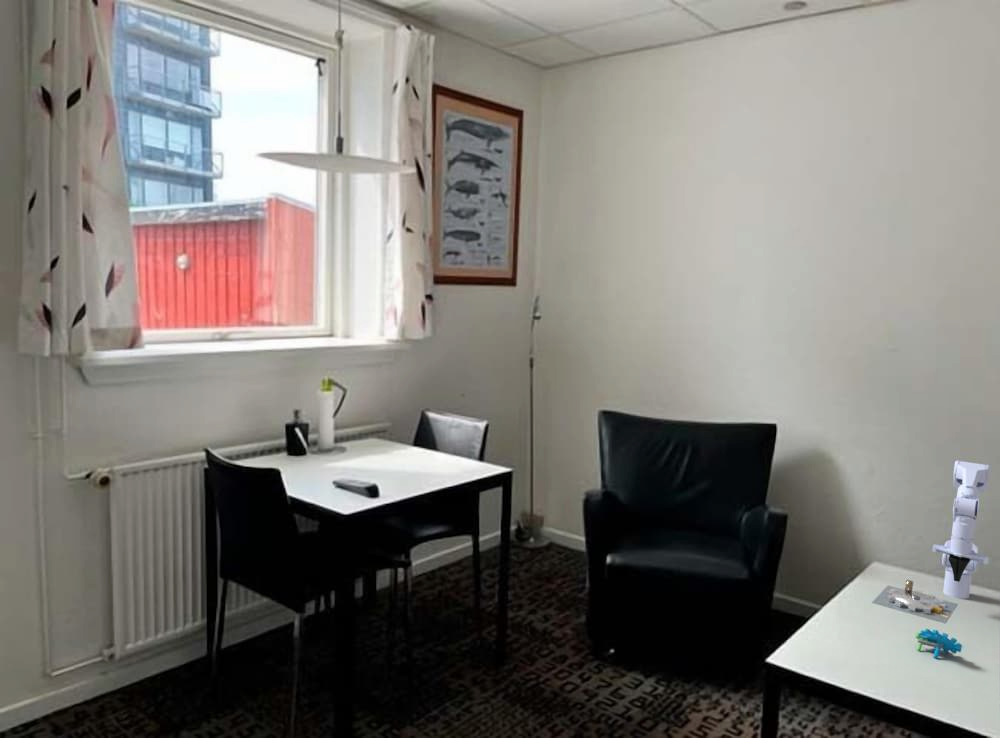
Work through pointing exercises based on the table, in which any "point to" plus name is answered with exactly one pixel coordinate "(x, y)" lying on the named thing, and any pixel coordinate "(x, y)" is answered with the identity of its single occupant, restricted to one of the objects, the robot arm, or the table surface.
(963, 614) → the table surface
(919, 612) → the base plate
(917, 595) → the sprocket
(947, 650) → the blue toy dinosaur
